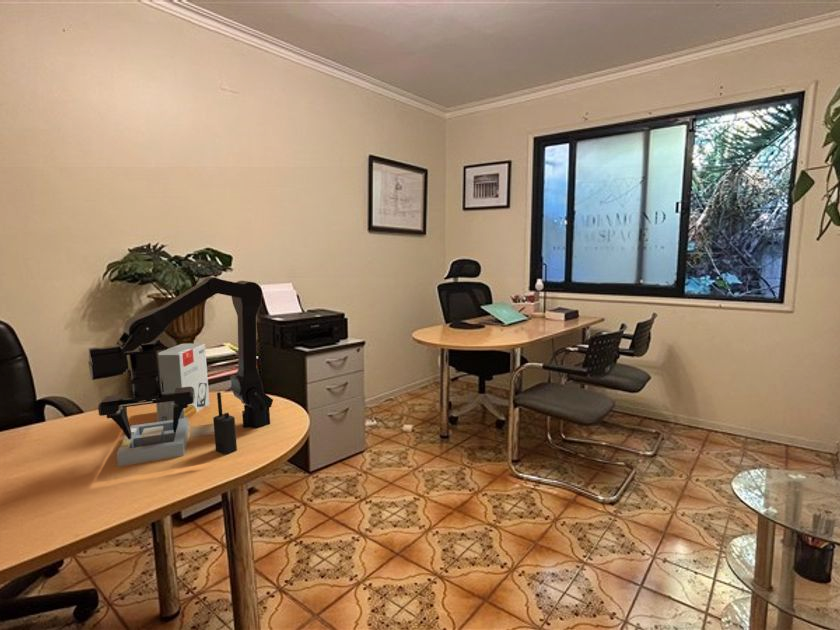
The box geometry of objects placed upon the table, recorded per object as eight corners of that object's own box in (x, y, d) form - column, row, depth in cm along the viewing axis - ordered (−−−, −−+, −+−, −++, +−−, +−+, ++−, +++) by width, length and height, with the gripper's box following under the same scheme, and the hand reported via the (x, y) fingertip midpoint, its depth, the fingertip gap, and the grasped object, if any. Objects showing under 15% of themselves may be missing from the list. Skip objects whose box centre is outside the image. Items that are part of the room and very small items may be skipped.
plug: (165, 447, 111) (163, 425, 110) (163, 453, 107) (161, 432, 106) (146, 450, 109) (144, 428, 109) (143, 457, 106) (141, 435, 105)
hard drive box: (184, 425, 126) (177, 355, 123) (157, 425, 126) (149, 355, 123) (210, 405, 142) (205, 342, 139) (186, 405, 142) (180, 342, 139)
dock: (189, 431, 122) (188, 416, 121) (184, 459, 107) (182, 441, 106) (132, 440, 117) (131, 424, 116) (118, 470, 102) (116, 451, 101)
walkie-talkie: (238, 453, 109) (233, 393, 107) (225, 459, 106) (220, 397, 104) (226, 449, 112) (221, 389, 109) (213, 454, 109) (208, 393, 107)
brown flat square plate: (220, 426, 126) (220, 422, 126) (219, 437, 118) (219, 433, 118) (191, 430, 123) (191, 426, 123) (189, 442, 116) (189, 438, 116)
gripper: (193, 358, 116) (198, 417, 118) (106, 366, 109) (113, 429, 111) (190, 369, 106) (196, 433, 108) (93, 379, 99) (102, 447, 101)
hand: (152, 435), depth 108 cm, fingers open, 9 cm apart
